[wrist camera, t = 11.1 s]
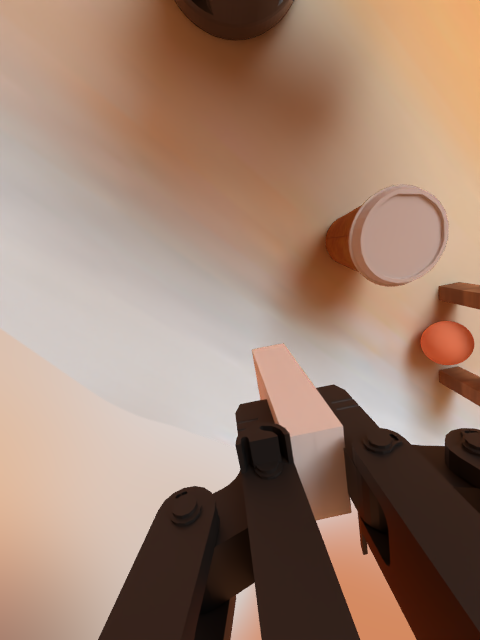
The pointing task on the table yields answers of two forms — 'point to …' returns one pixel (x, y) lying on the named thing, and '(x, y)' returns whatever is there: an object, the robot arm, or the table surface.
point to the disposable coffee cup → (391, 235)
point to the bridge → (457, 377)
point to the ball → (447, 343)
